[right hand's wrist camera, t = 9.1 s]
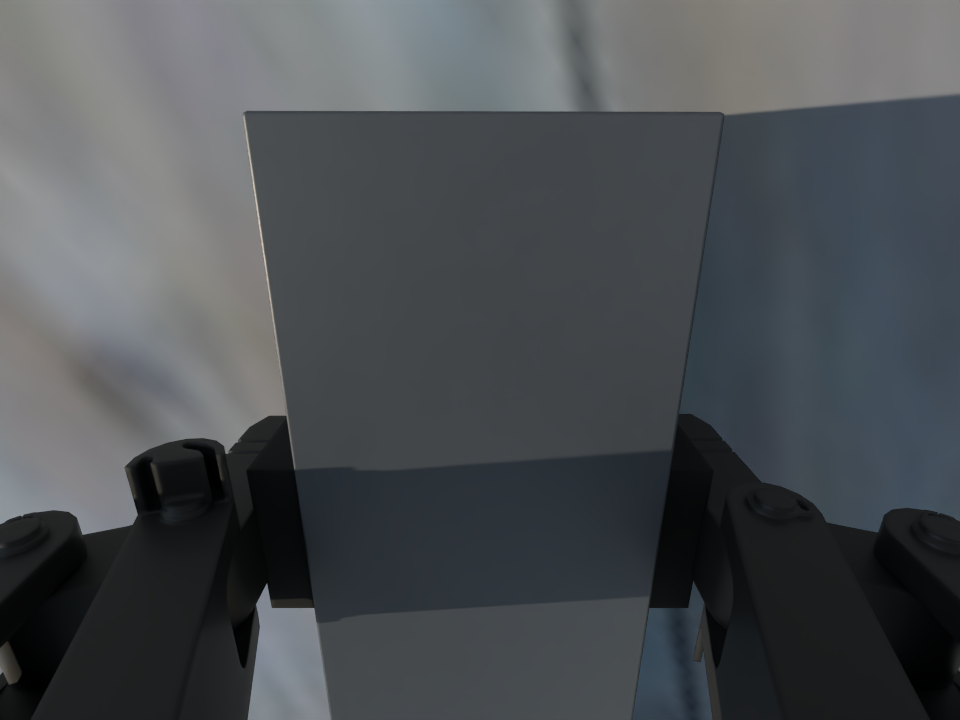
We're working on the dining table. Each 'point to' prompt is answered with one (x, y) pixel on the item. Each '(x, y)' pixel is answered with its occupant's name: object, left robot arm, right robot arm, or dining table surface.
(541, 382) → the bar
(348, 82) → the dining table surface
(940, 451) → the dining table surface
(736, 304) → the dining table surface
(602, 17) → the dining table surface
